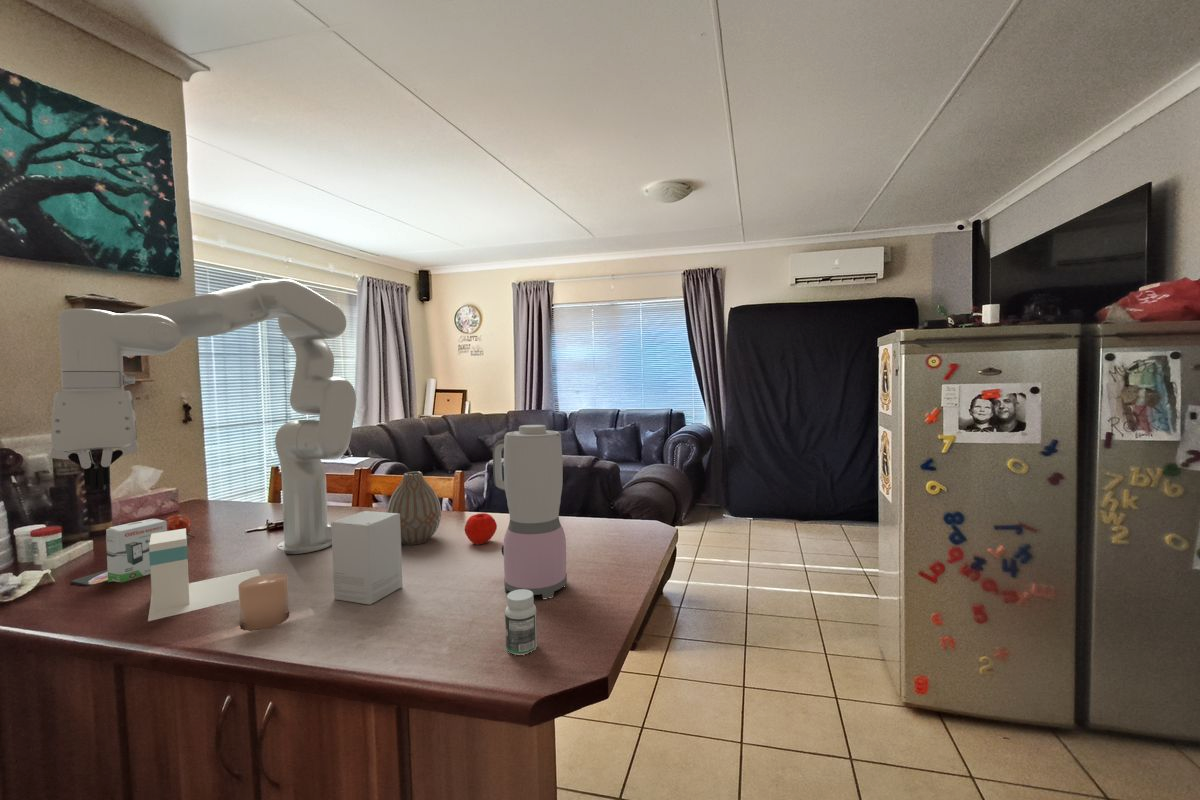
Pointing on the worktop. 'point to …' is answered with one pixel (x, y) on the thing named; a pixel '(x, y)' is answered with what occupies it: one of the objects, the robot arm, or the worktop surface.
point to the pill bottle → (521, 622)
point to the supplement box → (366, 556)
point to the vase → (415, 508)
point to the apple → (480, 528)
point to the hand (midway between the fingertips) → (98, 489)
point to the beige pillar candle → (263, 601)
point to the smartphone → (92, 579)
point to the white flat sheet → (208, 594)
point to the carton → (169, 569)
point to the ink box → (130, 549)
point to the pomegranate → (178, 523)
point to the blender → (532, 509)
